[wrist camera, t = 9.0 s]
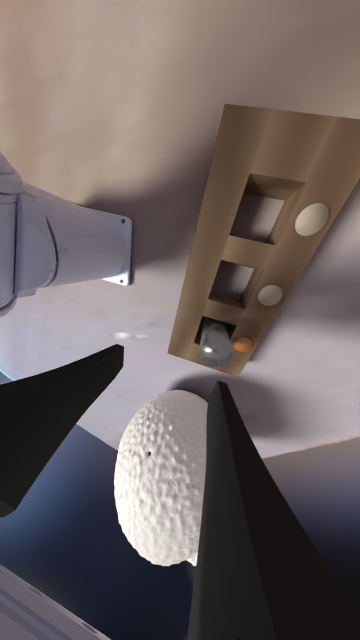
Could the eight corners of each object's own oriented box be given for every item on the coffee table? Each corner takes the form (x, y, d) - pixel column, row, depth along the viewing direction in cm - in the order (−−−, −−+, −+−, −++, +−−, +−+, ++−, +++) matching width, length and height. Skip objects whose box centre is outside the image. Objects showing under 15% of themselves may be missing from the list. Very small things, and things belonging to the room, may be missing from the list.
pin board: (173, 341, 21) (167, 354, 18) (222, 141, 11) (225, 100, 8) (234, 361, 20) (238, 378, 17) (346, 159, 10) (397, 119, 7)
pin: (201, 329, 19) (196, 362, 13) (206, 310, 18) (202, 337, 12) (222, 334, 19) (227, 370, 12) (228, 315, 17) (237, 345, 11)
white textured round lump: (163, 347, 22) (74, 502, 8) (261, 392, 21) (360, 656, 7) (139, 408, 31) (77, 531, 17) (207, 441, 30) (203, 600, 16)
